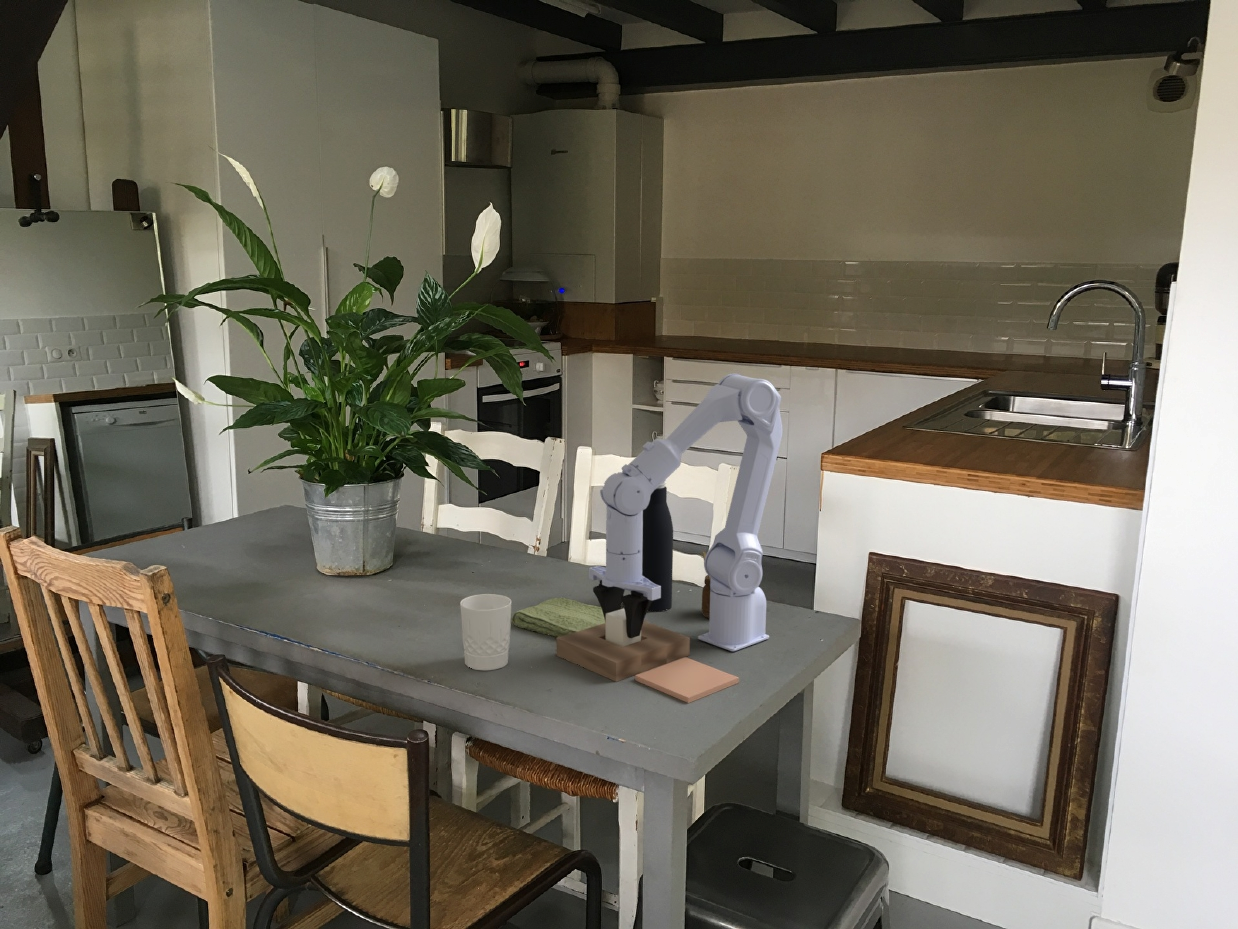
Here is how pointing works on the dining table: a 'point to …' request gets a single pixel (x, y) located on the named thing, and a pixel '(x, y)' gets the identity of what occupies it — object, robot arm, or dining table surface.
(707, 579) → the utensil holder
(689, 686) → the tile
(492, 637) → the white cup
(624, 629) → the plug
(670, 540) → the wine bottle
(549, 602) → the washcloth
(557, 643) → the brown board with hole
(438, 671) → the dining table surface
